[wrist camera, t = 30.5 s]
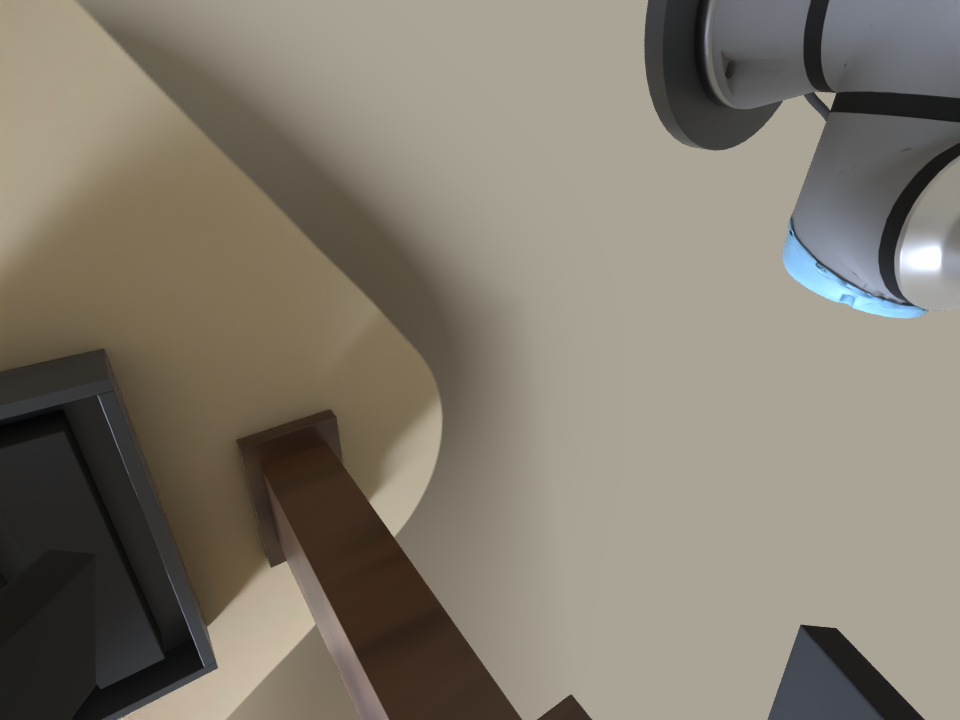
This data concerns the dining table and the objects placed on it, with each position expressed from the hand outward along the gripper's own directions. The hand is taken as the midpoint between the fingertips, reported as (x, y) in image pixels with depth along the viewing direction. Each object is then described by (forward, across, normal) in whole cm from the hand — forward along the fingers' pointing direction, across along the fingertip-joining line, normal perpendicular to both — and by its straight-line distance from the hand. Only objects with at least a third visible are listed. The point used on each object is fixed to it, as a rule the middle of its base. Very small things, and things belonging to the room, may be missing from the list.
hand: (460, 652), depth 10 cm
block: (+32, -10, -14) cm, 37 cm away
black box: (+24, -21, -16) cm, 36 cm away
